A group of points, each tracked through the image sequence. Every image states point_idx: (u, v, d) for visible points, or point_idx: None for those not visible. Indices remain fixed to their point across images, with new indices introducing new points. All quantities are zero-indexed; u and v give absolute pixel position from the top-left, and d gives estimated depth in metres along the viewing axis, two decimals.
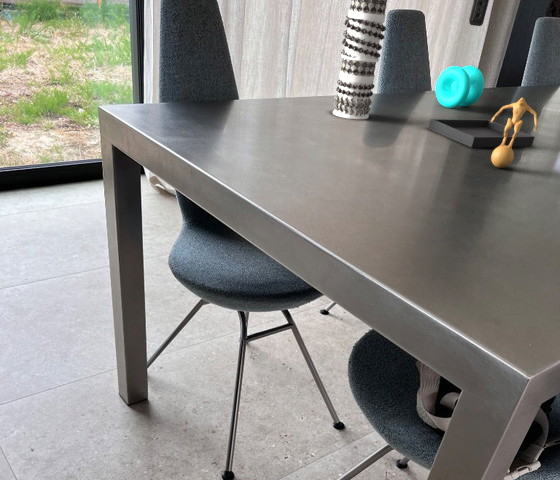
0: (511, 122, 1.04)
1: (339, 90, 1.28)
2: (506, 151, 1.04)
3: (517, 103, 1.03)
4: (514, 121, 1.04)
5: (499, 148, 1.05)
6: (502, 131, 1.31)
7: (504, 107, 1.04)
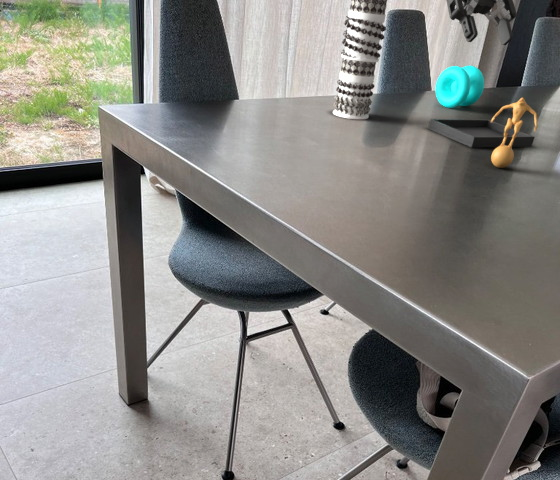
0: (511, 122, 1.04)
1: (339, 90, 1.28)
2: (506, 151, 1.04)
3: (517, 103, 1.03)
4: (514, 121, 1.04)
5: (499, 148, 1.05)
6: (502, 131, 1.31)
7: (504, 107, 1.04)
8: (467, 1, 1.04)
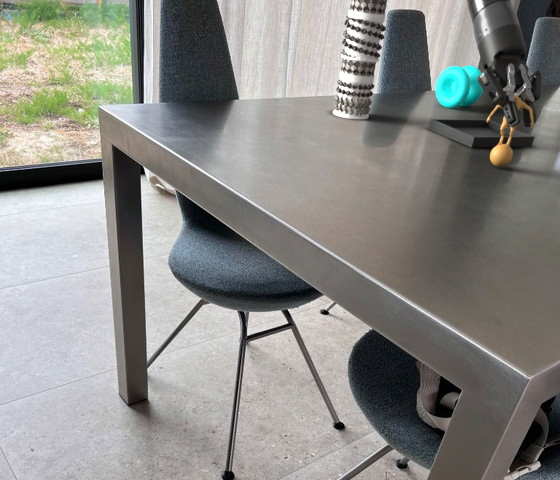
0: None
1: (339, 90, 1.28)
2: (503, 150, 1.04)
3: None
4: None
5: (496, 148, 1.05)
6: None
7: None
8: (497, 80, 1.02)
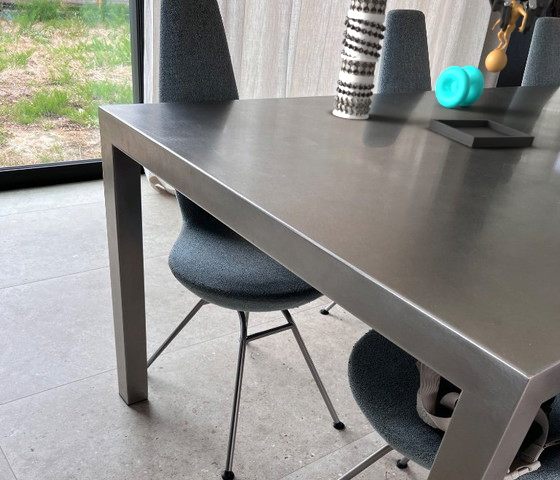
0: None
1: (339, 90, 1.28)
2: (493, 54, 1.10)
3: (511, 7, 1.08)
4: None
5: None
6: (502, 131, 1.31)
7: None
8: None
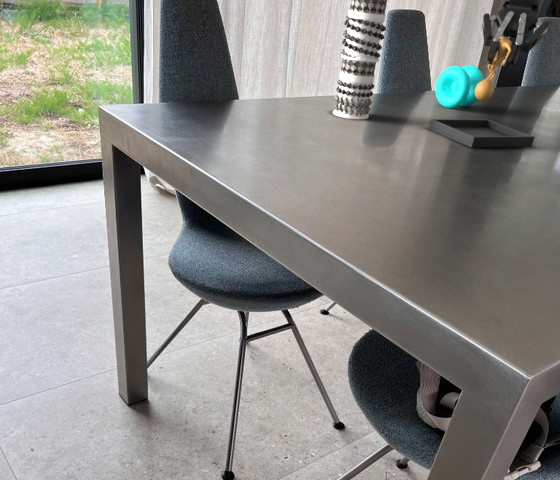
0: (495, 59, 1.19)
1: (339, 90, 1.28)
2: (480, 84, 1.21)
3: None
4: (496, 58, 1.19)
5: (479, 82, 1.22)
6: (502, 131, 1.31)
7: None
8: (499, 25, 1.19)
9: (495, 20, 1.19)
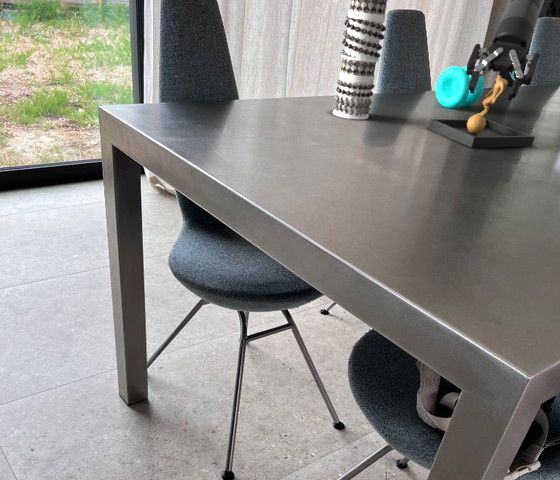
0: (490, 96, 1.23)
1: (339, 90, 1.28)
2: (472, 117, 1.25)
3: None
4: (491, 95, 1.22)
5: None
6: (502, 131, 1.31)
7: None
8: None
9: None
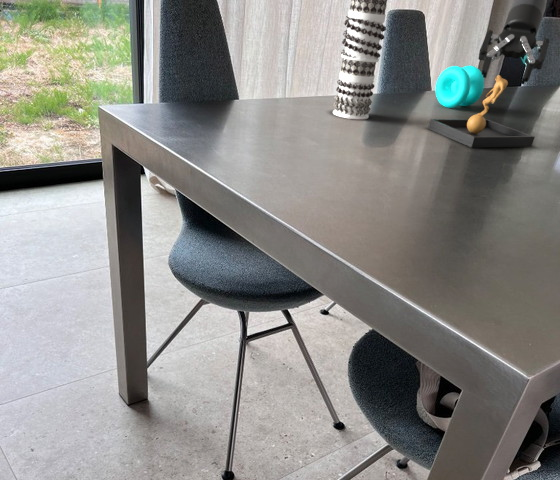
0: (490, 96, 1.23)
1: (339, 90, 1.28)
2: (472, 117, 1.25)
3: None
4: (491, 95, 1.22)
5: None
6: (502, 131, 1.31)
7: None
8: None
9: (497, 42, 1.30)
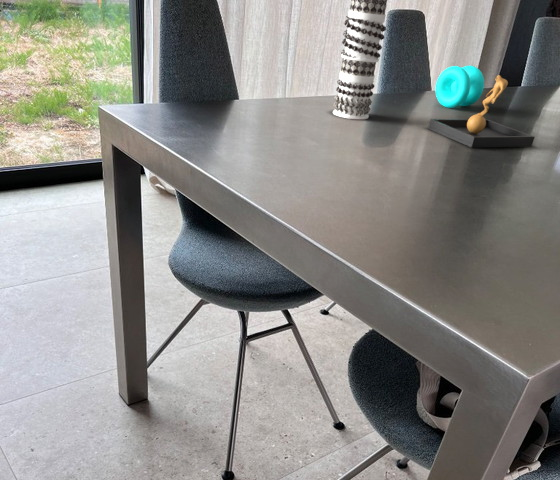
0: (490, 96, 1.23)
1: (339, 90, 1.28)
2: (472, 117, 1.25)
3: None
4: (491, 95, 1.22)
5: None
6: (502, 131, 1.31)
7: None
8: None
9: None
